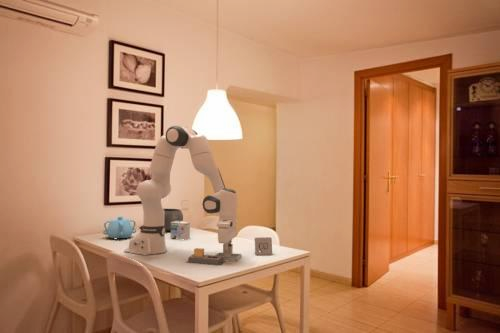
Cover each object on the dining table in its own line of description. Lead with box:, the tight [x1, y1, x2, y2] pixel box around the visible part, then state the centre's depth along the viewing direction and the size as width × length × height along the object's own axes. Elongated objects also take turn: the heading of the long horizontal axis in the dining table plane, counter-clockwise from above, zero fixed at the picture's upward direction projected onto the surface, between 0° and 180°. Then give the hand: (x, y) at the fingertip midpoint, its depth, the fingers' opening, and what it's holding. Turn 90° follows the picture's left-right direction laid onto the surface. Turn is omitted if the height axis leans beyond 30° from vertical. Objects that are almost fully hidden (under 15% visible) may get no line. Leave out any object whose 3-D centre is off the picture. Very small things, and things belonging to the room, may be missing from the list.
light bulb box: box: [169, 220, 191, 241], centre depth 238 cm, size 11×7×11 cm, turn 69°
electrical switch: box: [254, 236, 273, 256], centre depth 200 cm, size 9×5×9 cm, turn 99°
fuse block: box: [184, 253, 227, 267], centre depth 177 cm, size 18×8×4 cm, turn 77°
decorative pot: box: [102, 216, 137, 239], centre depth 237 cm, size 16×16×14 cm
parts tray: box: [214, 252, 243, 263], centre depth 185 cm, size 12×9×3 cm
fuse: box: [193, 247, 205, 257], centre depth 178 cm, size 4×2×6 cm, turn 77°
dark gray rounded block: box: [163, 208, 184, 232], centre depth 266 cm, size 20×20×15 cm
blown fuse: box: [222, 243, 234, 258], centre depth 185 cm, size 4×2×6 cm, turn 77°
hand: (227, 249), depth 185 cm, fingers closed on blown fuse, 2 cm apart
